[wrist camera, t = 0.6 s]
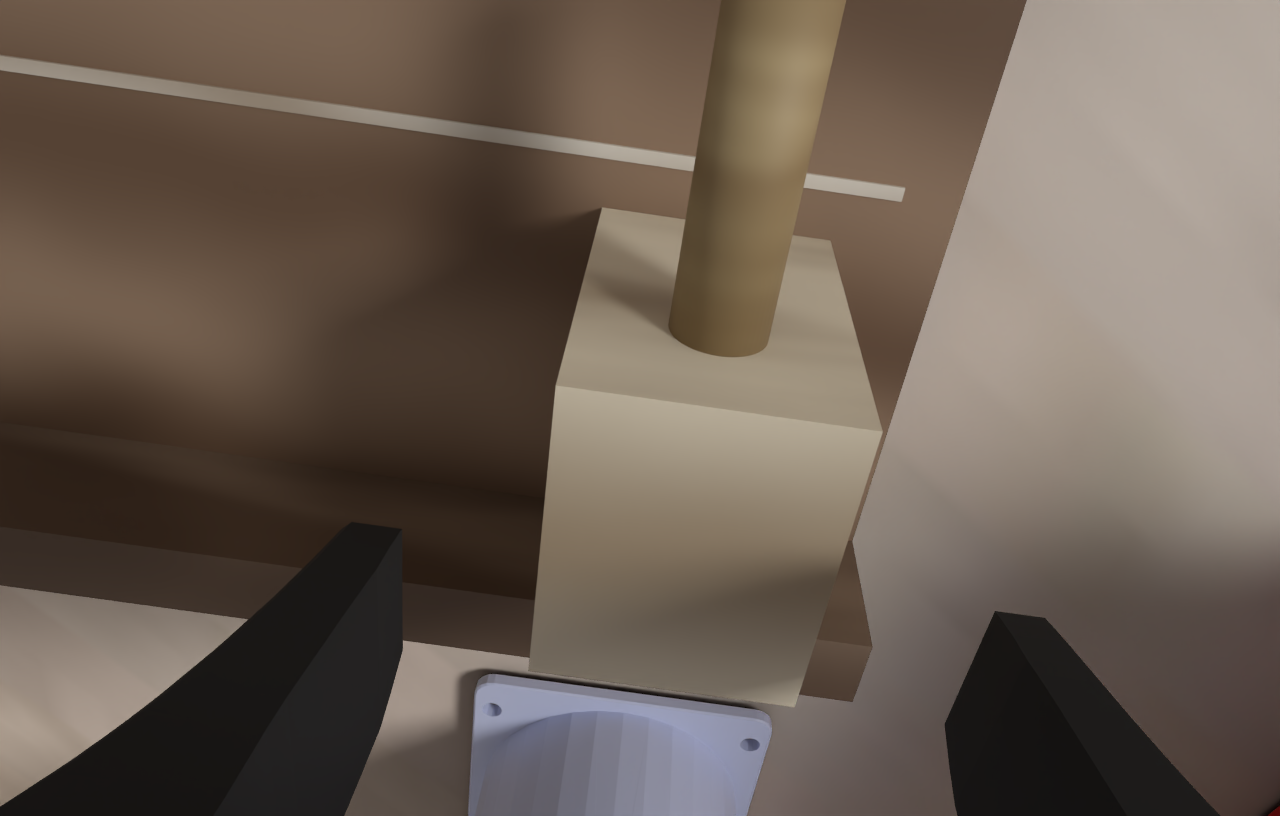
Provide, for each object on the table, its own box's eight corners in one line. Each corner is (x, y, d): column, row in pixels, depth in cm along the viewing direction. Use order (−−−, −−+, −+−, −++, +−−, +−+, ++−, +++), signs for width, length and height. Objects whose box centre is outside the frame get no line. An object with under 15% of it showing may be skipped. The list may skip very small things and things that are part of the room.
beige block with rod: (772, 471, 19) (795, 707, 14) (575, 442, 19) (528, 671, 14) (910, -78, 14) (1022, -7, 9) (639, -118, 14) (599, -71, 9)
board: (826, 534, 23) (852, 701, 19) (-197, 391, 22) (-408, 529, 18) (1029, -142, 15) (1153, -120, 11) (-504, -377, 15) (-983, -445, 11)
